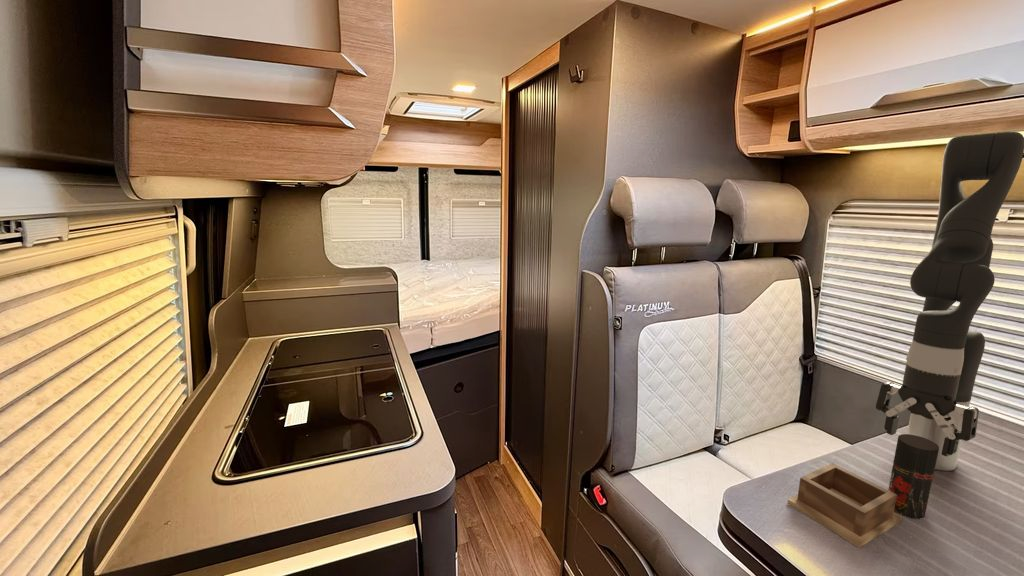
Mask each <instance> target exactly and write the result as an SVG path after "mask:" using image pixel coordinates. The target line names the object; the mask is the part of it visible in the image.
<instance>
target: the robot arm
mask: <svg viewBox="0 0 1024 576" xmlns="http://www.w3.org/2000/svg"><path fill="white" fill-rule="evenodd" d="M1023 157H1024V136H1023V134H1022V133H1020V132H1018V131H1003V132H1002V131H999V132H991V133H989V132H988V133H979V134H978V133H977V134H969V135H968V134H967V135H961V136H959V135H958V136H955V137H951V139H950V140H949V141H948V143H947V144H946V146H945V150H944V152H943V157H942V164H941V174H940V175H941V178H940V191H939V201H938V202H939V206H938V213H937V220H936V225H935V230H934V234H933V241H932V246H931V249H930V250H929V252H928V253H927V254H926V256H925V257H924V258H923V259H922V260H921V261H920V262H919V264H918V265H917V266H916V267H915V268H914V270H913V271H912V274H911V276H910V283H909V285H910V288H911V290H912V291H913V293H914V294H916V296H919V297H921V298H925V299H924V303H923V308H922V311H921V312H920V313H919V314H918V315H917V317H916V320H915V326H914V331H913V336H912V337H913V338H912V341H911V344H910V346H909V349H908V352H907V356H906V362H905V368H904V373H903V379H902V384H901V386H899V385H897V384H895V383H894V382H892V381H887V382H884V383H882V384H880V388H879V392H878V397H877V400H876V404H875V409H876V410H878V411H880V412H883V413H884V414H885V416H886V417H885V423H884V430H885V431H886V434H887V435H890V436H893V435H895V434H896V433H897V430H898V425H899V420H900V416H898V415H899V414H901V413H903V412H905V411H907V410H908V412H910V416H909V422H908V426H907V432H906V434H910V435H916V436H920V437H923V438H926V439H928V440H930V441H932V442H934V443H936V444H937V445H938V446H939V451H938V456H937V461H936V466H935V470H939V471H948V472H949V471H954V470H955V469H956V467H957V463H958V459H959V455H960V450H961V446H962V442H963V441H965V442H969V441H970V440H973V439H974V438H976V435H977V427H978V420H979V412H980V410H979V408H977V407H976V406H971V405H970V404H971V402H972V401H971V400H972V396H973V391H974V387H975V383H976V378H977V373H978V371H979V367H980V364H981V361H982V359H983V354H984V351H985V346H986V339H985V336H984V335H983V333H981V331H977V330H972V329H970V326H971V324H972V321H973V319H974V317H975V315H976V313H977V311H978V310H979V308H980V307H981V305H982V304H983V302H984V301H985V300H986V299H987V297H988V295H989V294H990V292H991V291H992V290H993V287H994V284H995V282H996V281H995V279H996V277H995V274H994V272H993V271H992V270H991V268H990V267H991V260H992V255H993V250H994V243H993V239H992V237H991V236H992V232H993V228H994V224H995V222H996V219H997V217H998V214H999V212H1000V209H1001V208H1002V207H1003V204H1004V202H1005V200H1006V198H1007V196H1008V194H1009V192H1010V190H1011V188H1012V186H1013V184H1014V181H1015V179H1016V177H1017V174H1018V172H1019V170H1020V167H1021V165H1022V162H1023V159H1024V158H1023ZM987 180H988V181H987ZM966 181H967V182H969V181H987V182H986V183H985V184H983V185H982V186H981V187H980V188H979V189H978V190H976V191H974V192H973V193H972V194H971V195H969V196H968V197H965V195H964V191H963V185H962V183H963V182H966ZM956 302H958V303H959V304H958V306H957V307H954V308H952V309H950V307H952V306H953V305H954V304H955V303H956ZM896 393H897V394H898V396H899V397H900V399H901V401H902V402H900V403H898V404H897V405H895V406H893V407H892V406H890V405H891V404H890V403H891V399H892V396H893V395H896Z"/></svg>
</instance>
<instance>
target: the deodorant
mask: <svg viewBox="0 0 1024 576" xmlns="http://www.w3.org/2000/svg"><path fill="white" fill-rule="evenodd" d="M896 442H897V443H896V447H895V453H894V457H893V463H892V466H891V467H892V468H891V472H890V473H891V474H890V479H889V484H888V489H887V490H889V491H891V492H893V493H895V494H897V497H896V502H895V508H894V511H895V512H894V513H896V512H897V513H896V514H898V513H899V514H898V515H900V514H901V515H900V516H902V517H905V516H906V517H905V518H908V517H909V519H913V520H921V519H920V518H923V519H924V518H925V517H926V513H927V509H928V503H929V499H930V493H931V490H932V489H931V488H932V484H933V479H934V474H935V470H936V469H935V466H936V461H937V456H938V451H939V446H938V445H937V444H936V443H934V442H932V441H930V440H928V439H926V438H923V437H920V436H916V435H910V434H907V433H901V434H898V437H897V441H896Z"/></svg>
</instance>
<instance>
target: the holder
mask: <svg viewBox="0 0 1024 576" xmlns="http://www.w3.org/2000/svg"><path fill="white" fill-rule="evenodd" d="M896 497H897V494H895V493H893V492H891V491H889V490H888V489H887V488H884V487H882V486H880V485H878V484H876V483H874V482H872V481H870V480H868V479H867V478H864V477H862V476H860V475H858V474H856V473H854V472H852V471H850V470H847V469H845V468H843V467H842V466H840V465H837V464H835V463H834V462H832V463H830V464H828V465H825V466H822V467H821V468H818V469H816V470H814V471H812V472H810V473H808V474H806V475H803V476H801V477H800V478H799V484H798V492H797V494H796V495H794V496H791V497H790V498H788V499H787V505H789V506H790V507H792V508H794V509H796V510H797V511H799V512H800V513H802V514H804V515H805V516H807V517H809V519H812V520H814V521H815V522H816V523H818V524H820V525H821V526H823V527H825V528H826V529H828V530H829V531H831V532H833V533H835V534H836V535H837V536H839V537H840V538H843V539H844V540H845V541H848V542H849V543H851V544H852V545H854V546H855V547H857V548H858V549H860V548H861V547H863V546H865V545H866V544H868V543H869V542H871V541H872V540H875V539H876V538H877V537H879V536H881V535H883V534H884V533H885V532H887V531H889V530H891V529H892V528H893V527H895V526H896V525H898V524H900V523H901V522H902V521H903V515H900V514H898V513H896V512H894V508H895V502H896Z"/></svg>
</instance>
